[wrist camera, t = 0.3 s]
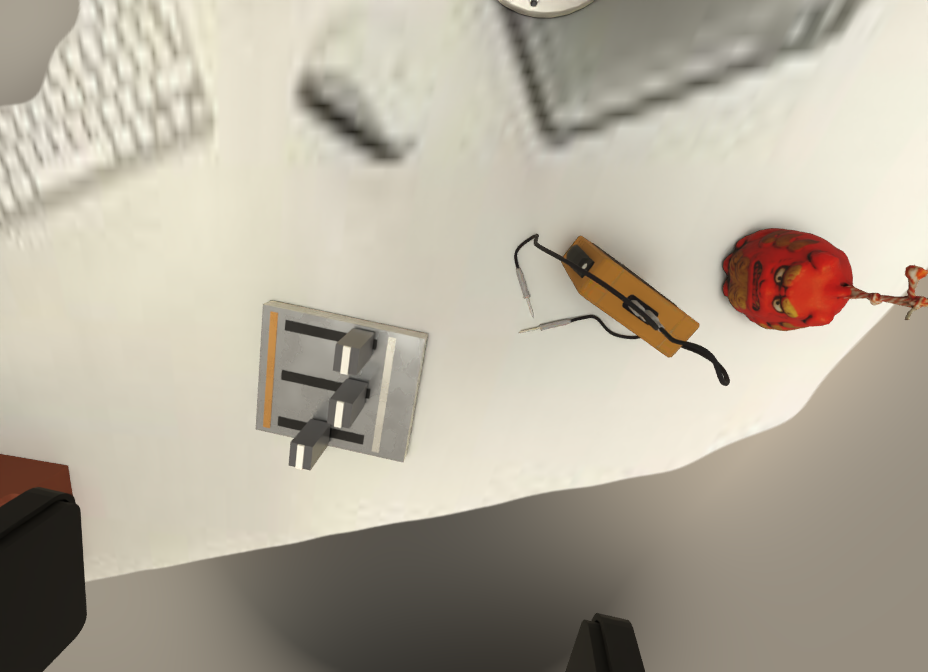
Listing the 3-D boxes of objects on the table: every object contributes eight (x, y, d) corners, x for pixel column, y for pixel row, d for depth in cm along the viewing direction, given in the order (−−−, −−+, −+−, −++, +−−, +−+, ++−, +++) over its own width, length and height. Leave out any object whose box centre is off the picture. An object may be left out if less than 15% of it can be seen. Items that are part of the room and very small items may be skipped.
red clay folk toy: (714, 233, 40) (826, 263, 26) (807, 216, 39) (977, 237, 24) (719, 321, 42) (824, 394, 28) (808, 307, 41) (964, 375, 27)
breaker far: (310, 418, 47) (289, 443, 42) (330, 423, 47) (311, 448, 42) (308, 440, 47) (287, 466, 43) (328, 444, 47) (309, 471, 43)
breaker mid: (346, 378, 45) (328, 399, 41) (367, 383, 45) (351, 404, 41) (343, 401, 46) (325, 424, 41) (364, 406, 46) (348, 429, 41)
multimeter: (476, 302, 44) (446, 396, 25) (544, 207, 40) (571, 231, 22) (606, 392, 45) (673, 547, 26) (681, 307, 42) (820, 412, 23)
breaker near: (352, 328, 43) (334, 344, 39) (374, 332, 43) (358, 349, 39) (349, 352, 44) (331, 371, 40) (371, 357, 44) (355, 376, 40)
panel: (271, 300, 45) (262, 304, 44) (428, 333, 45) (424, 339, 43) (263, 421, 49) (255, 429, 48) (406, 453, 49) (403, 462, 47)
